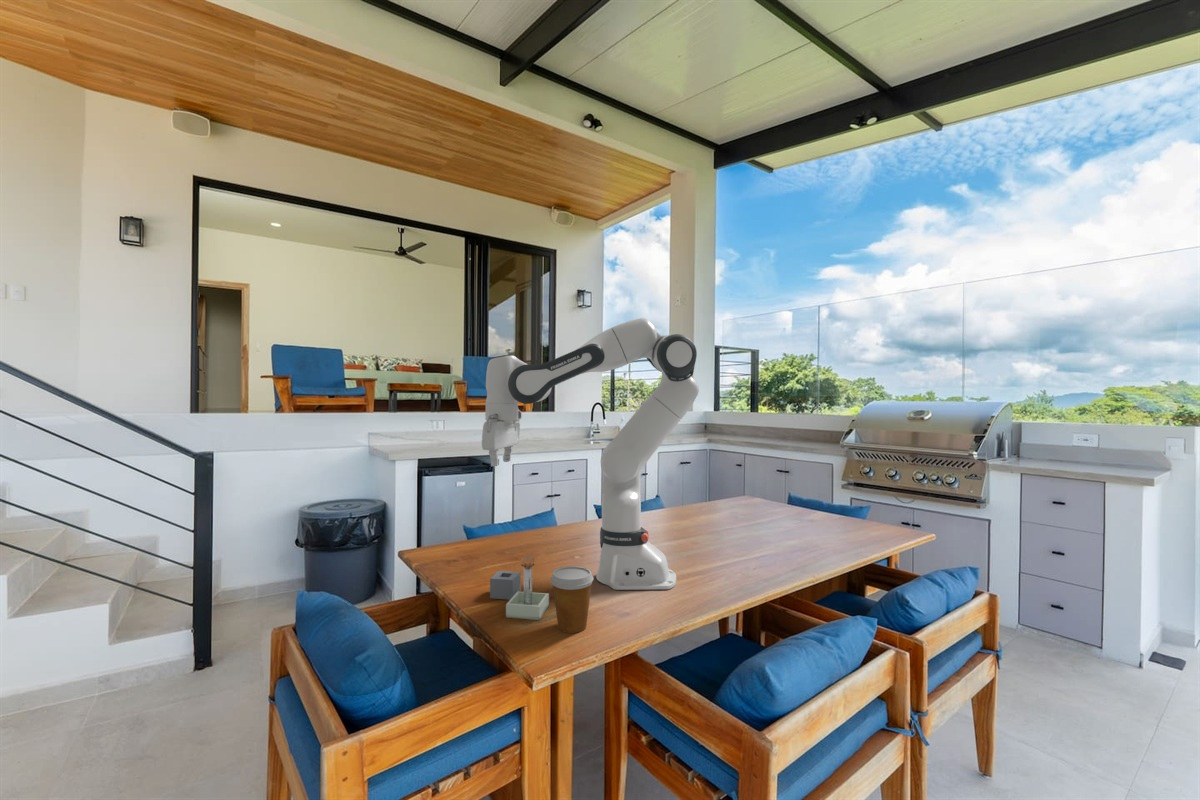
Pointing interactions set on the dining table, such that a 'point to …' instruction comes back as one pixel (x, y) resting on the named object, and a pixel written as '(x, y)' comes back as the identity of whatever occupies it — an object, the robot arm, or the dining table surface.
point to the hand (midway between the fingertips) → (501, 463)
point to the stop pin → (527, 578)
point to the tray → (527, 606)
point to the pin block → (505, 584)
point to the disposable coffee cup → (572, 597)
